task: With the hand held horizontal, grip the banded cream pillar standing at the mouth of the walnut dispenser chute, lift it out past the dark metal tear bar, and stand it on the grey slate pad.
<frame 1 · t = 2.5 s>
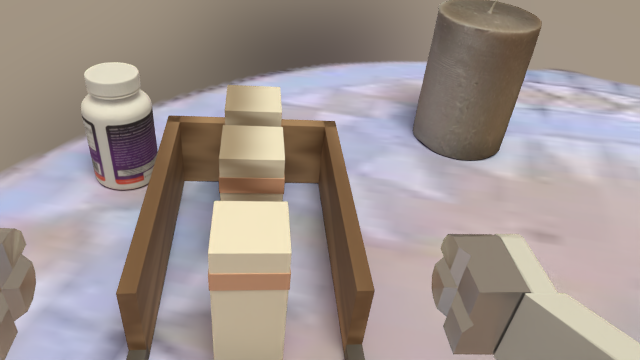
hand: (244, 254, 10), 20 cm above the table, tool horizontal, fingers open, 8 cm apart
pill bottle: (128, 175, 45), on the table
dispenser: (251, 252, 38), on the table
pillar candle: (453, 138, 55), on the table
banded cream pillar: (249, 343, 32), resting in dispenser
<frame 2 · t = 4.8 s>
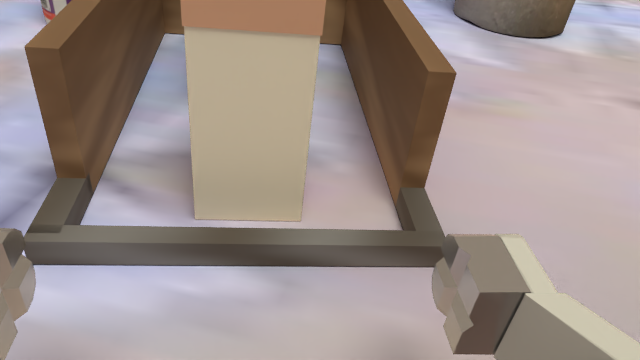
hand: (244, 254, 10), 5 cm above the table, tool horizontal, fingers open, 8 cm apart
pill bottle: (91, 25, 34), on the table
dispenser: (252, 99, 27), on the table
pillar candle: (504, 21, 45), on the table
banded cream pillar: (249, 188, 21), resting in dispenser
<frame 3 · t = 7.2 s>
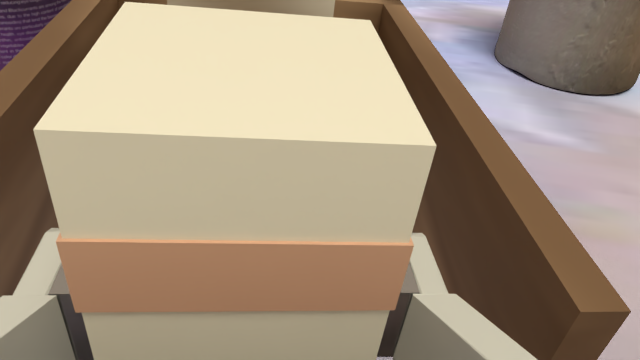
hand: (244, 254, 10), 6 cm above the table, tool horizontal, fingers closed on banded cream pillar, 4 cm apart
pill bottle: (34, 96, 25), on the table
dispenser: (247, 225, 19), on the table
pillar candle: (557, 69, 36), on the table
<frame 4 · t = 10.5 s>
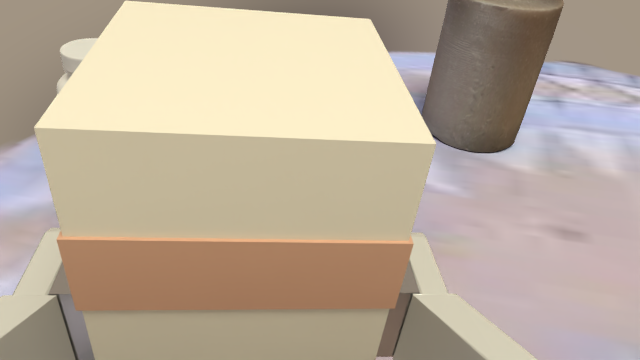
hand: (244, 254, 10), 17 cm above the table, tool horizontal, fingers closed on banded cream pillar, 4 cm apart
pill bottle: (111, 165, 41), on the table
pillar candle: (464, 129, 52), on the table
when the fingers open (7 cm above the table, at t = 13.7 s): banded cream pillar stays where it is, resting on pad.
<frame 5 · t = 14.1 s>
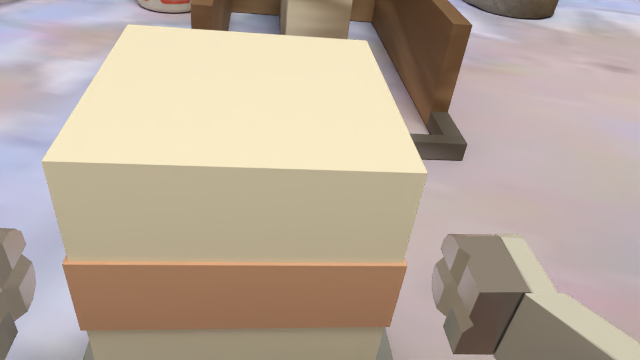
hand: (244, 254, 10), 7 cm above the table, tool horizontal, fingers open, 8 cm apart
pill bottle: (171, 6, 42), on the table
dispenser: (311, 58, 35), on the table
pillar candle: (504, 6, 53), on the table
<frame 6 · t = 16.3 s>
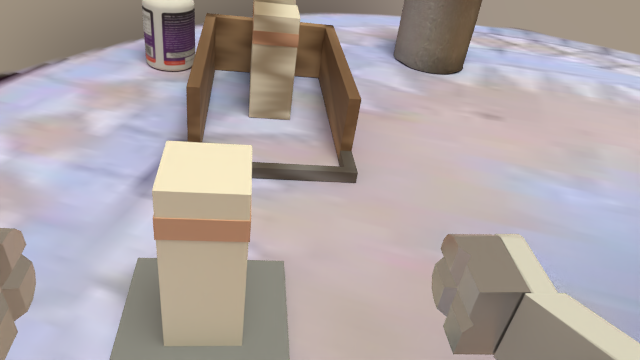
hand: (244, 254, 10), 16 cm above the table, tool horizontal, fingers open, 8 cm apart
pill bottle: (171, 64, 57), on the table
dispenser: (269, 109, 51), on the table
pillar candle: (426, 62, 69), on the table
banded cream pillar: (206, 315, 28), point 1 cm above the table, touching pad
pad: (206, 323, 28), on the table
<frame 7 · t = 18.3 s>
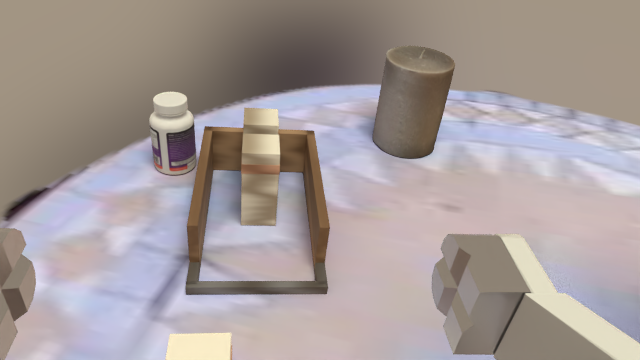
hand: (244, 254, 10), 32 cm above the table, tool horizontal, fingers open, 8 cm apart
pill bottle: (175, 165, 67), on the table
dispenser: (258, 214, 60), on the table
pillar candle: (401, 143, 78), on the table
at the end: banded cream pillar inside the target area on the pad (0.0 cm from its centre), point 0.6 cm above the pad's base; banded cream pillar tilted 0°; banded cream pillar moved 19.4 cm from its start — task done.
